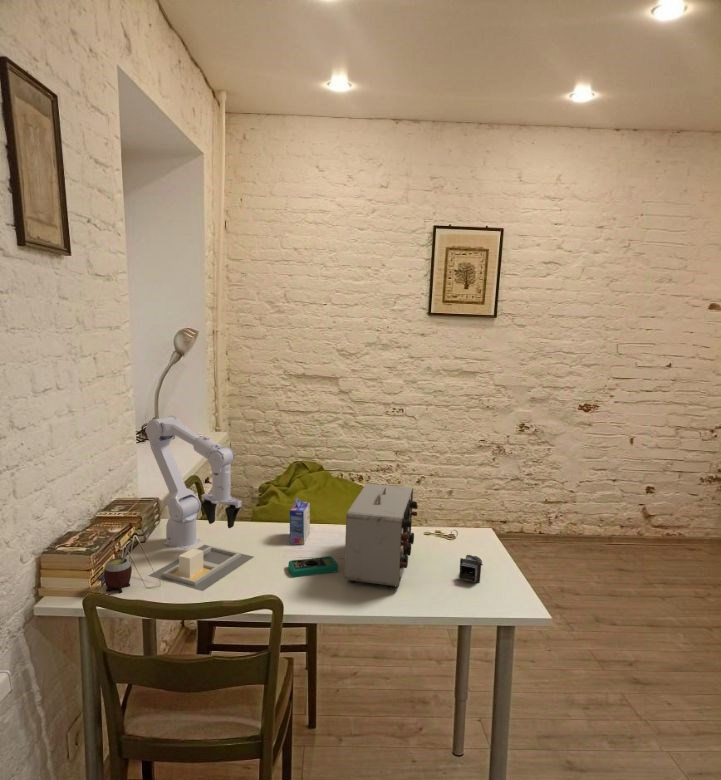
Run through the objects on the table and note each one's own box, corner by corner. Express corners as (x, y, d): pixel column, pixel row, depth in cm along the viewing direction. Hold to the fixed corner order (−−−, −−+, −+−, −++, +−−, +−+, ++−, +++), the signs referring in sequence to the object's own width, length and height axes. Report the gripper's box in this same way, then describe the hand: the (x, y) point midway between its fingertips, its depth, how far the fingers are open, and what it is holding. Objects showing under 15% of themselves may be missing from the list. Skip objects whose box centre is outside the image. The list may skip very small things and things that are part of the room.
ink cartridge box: (295, 532, 194) (295, 494, 192) (309, 534, 193) (310, 495, 192) (288, 543, 184) (289, 503, 182) (304, 545, 184) (305, 504, 182)
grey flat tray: (148, 577, 157) (148, 572, 157) (204, 546, 180) (204, 541, 180) (202, 592, 149) (202, 587, 149) (254, 558, 172) (254, 553, 172)
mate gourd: (101, 586, 150) (100, 535, 149) (131, 579, 155) (130, 530, 153) (108, 597, 145) (106, 545, 143) (138, 589, 149) (137, 538, 148)
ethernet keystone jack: (485, 568, 171) (486, 549, 170) (478, 586, 159) (479, 566, 158) (465, 564, 173) (466, 545, 172) (457, 582, 161) (458, 562, 160)
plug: (179, 575, 157) (178, 555, 157) (194, 566, 163) (194, 547, 163) (189, 578, 156) (189, 558, 155) (204, 569, 162) (204, 550, 161)
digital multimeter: (286, 568, 167) (286, 559, 166) (332, 563, 172) (332, 554, 171) (291, 579, 160) (291, 569, 160) (338, 573, 165) (338, 564, 164)
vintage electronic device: (405, 593, 153) (409, 510, 150) (343, 585, 156) (346, 503, 153) (416, 549, 184) (419, 478, 181) (364, 543, 187) (367, 474, 184)
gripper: (195, 484, 172) (195, 525, 173) (232, 491, 166) (231, 533, 168) (209, 479, 178) (209, 518, 180) (245, 485, 172) (245, 525, 174)
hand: (221, 525), depth 174 cm, fingers open, 7 cm apart
